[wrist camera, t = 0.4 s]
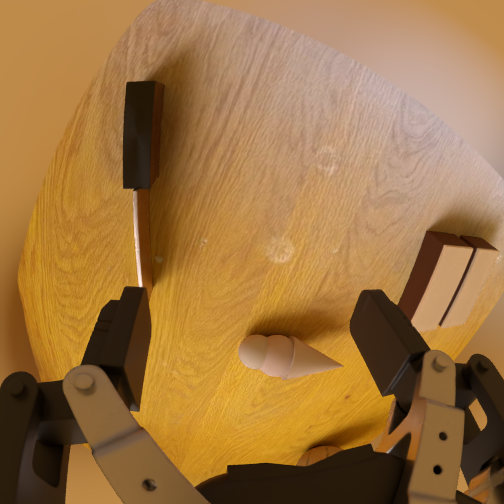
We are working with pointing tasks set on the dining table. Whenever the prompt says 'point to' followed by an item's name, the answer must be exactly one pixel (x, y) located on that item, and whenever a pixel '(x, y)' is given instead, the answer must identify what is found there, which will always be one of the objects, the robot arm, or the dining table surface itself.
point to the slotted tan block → (446, 280)
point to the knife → (142, 163)
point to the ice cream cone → (283, 356)
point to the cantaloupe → (317, 455)
